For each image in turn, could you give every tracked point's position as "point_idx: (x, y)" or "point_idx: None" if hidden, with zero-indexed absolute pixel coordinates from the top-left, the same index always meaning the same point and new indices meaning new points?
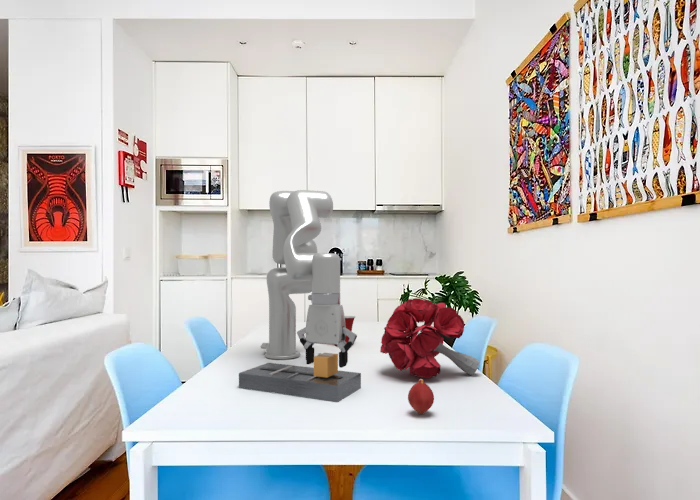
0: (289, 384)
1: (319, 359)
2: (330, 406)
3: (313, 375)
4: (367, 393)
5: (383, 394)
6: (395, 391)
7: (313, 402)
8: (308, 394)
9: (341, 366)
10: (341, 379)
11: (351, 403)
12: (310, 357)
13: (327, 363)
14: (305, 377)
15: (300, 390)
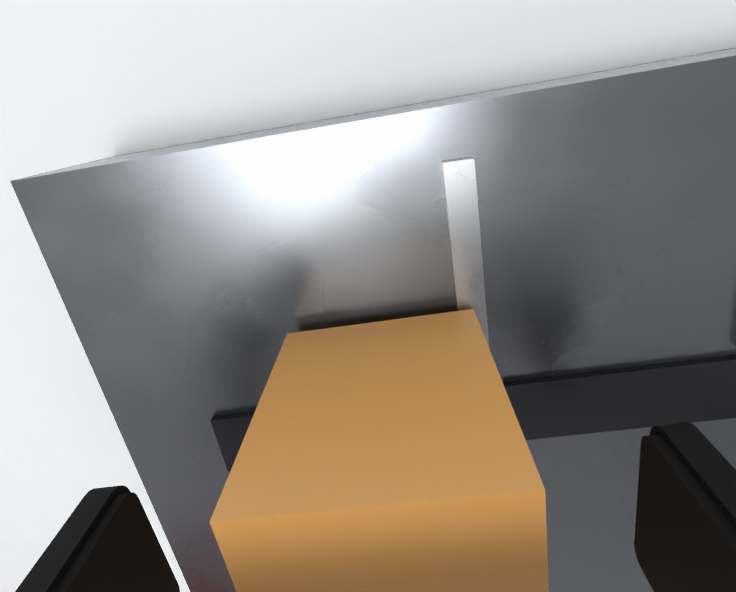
0: (687, 60)
1: (395, 468)
2: (63, 4)
3: (534, 377)
4: (117, 451)
5: (25, 481)
6: (23, 559)
7: (272, 10)
8: (406, 106)
9: (92, 501)
10: (177, 400)
11: (8, 193)
12: (694, 550)
13: (242, 448)
14: (572, 261)
15: (509, 89)
